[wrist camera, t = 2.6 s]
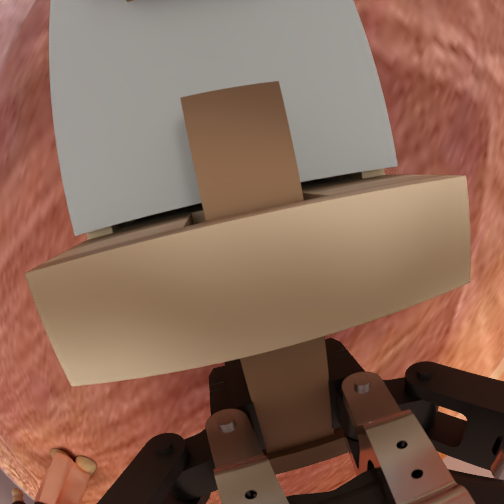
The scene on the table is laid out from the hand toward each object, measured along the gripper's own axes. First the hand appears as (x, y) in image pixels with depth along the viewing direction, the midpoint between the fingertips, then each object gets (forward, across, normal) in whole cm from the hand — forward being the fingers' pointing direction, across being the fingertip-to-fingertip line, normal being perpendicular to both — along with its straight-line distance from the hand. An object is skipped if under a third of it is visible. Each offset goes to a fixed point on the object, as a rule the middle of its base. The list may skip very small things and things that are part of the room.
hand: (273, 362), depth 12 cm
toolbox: (+7, 0, -12) cm, 13 cm away
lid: (0, 0, -13) cm, 13 cm away
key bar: (-1, 0, -3) cm, 4 cm away
